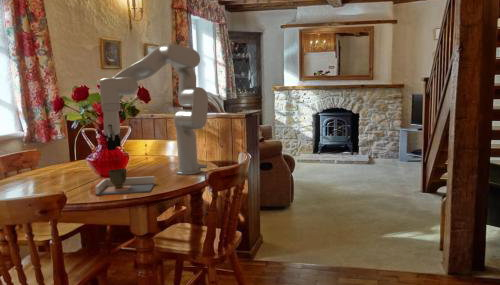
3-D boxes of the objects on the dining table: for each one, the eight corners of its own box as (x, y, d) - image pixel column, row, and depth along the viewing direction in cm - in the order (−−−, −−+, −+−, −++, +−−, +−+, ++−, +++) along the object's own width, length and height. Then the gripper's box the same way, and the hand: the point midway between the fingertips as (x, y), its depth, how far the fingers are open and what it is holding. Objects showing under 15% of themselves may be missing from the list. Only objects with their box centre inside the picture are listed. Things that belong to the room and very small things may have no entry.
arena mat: (154, 184, 194) (154, 182, 194) (150, 192, 179) (150, 190, 179) (104, 186, 192) (104, 185, 192) (95, 195, 177) (95, 193, 177)
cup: (112, 186, 190) (111, 168, 189) (129, 185, 190) (128, 167, 189) (107, 190, 183) (106, 171, 182) (125, 189, 183) (123, 170, 182)
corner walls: (154, 182, 194) (154, 176, 193) (150, 190, 179) (149, 183, 179) (104, 185, 192) (103, 179, 192) (95, 193, 177) (94, 186, 177)
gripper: (106, 107, 189) (110, 145, 191) (96, 109, 172) (100, 151, 174) (124, 106, 190) (127, 145, 192) (115, 108, 173) (119, 150, 175)
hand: (114, 148), depth 183 cm, fingers open, 9 cm apart
